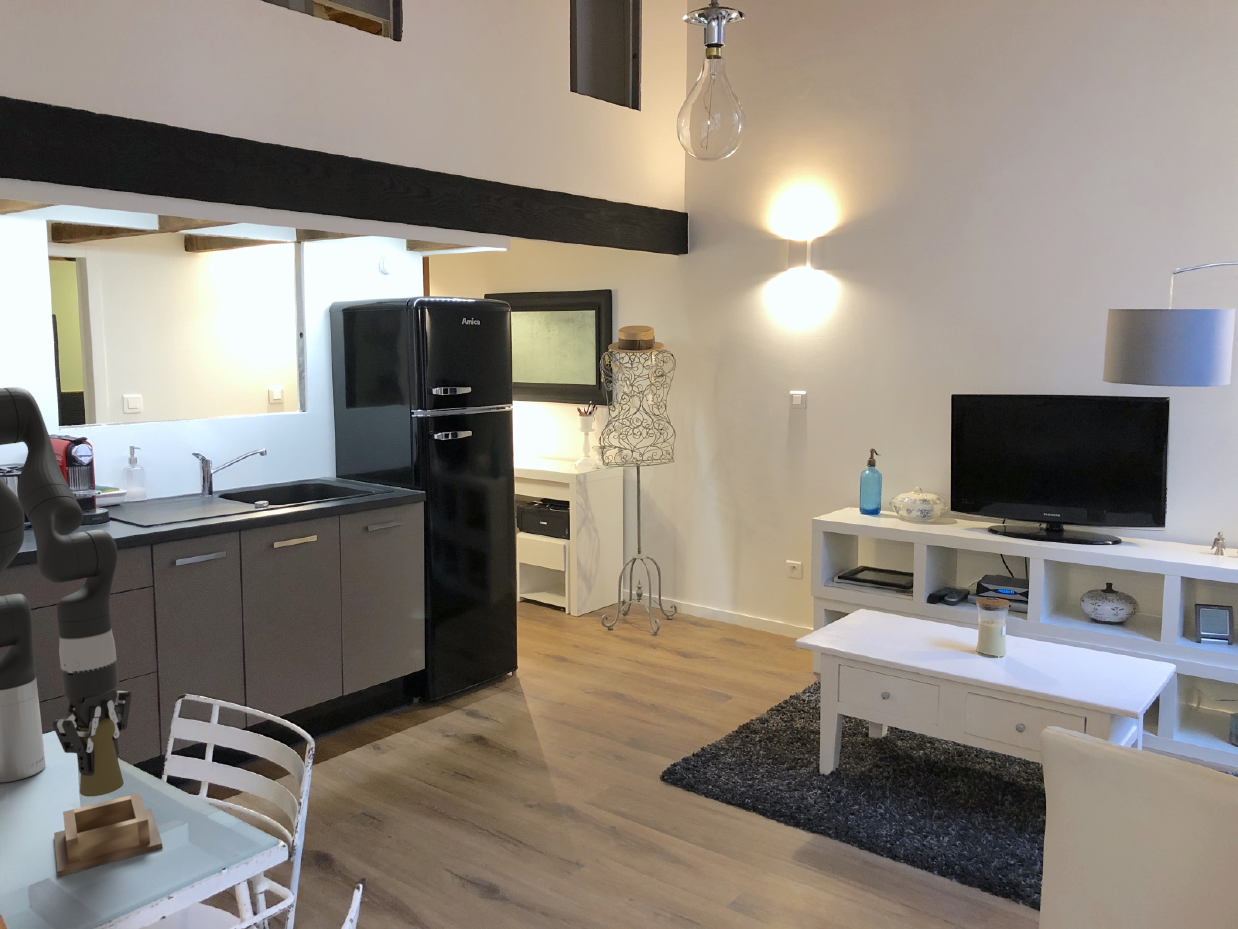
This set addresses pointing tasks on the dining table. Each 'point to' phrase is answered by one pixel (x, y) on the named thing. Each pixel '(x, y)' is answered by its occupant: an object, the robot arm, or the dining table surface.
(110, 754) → the cork
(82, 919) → the dining table surface
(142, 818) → the shaker caddy
